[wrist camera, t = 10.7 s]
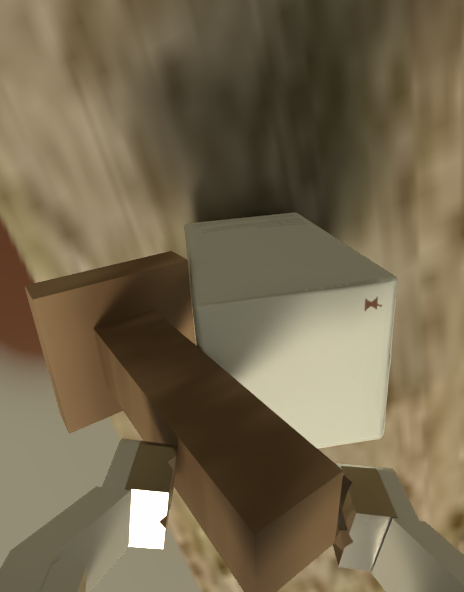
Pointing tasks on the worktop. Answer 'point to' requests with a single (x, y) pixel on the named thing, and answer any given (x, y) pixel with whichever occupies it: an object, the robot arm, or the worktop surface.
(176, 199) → the worktop surface
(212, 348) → the supplement box
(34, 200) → the worktop surface
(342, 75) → the worktop surface
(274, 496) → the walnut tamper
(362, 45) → the worktop surface
